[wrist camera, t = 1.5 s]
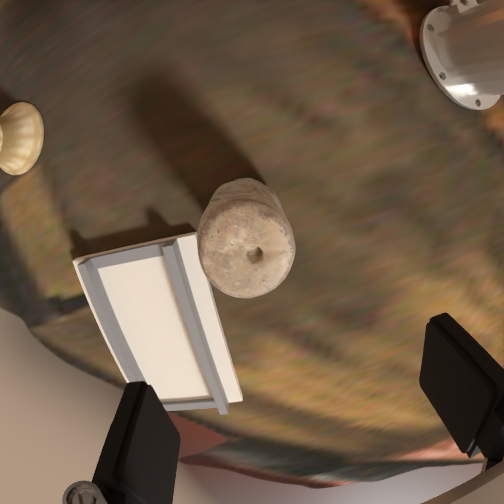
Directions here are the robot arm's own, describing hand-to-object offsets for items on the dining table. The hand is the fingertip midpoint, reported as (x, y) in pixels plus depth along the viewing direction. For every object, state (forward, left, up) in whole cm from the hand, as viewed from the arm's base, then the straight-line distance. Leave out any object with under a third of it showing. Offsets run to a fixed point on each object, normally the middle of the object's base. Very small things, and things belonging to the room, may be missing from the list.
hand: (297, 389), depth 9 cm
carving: (-1, -1, -22) cm, 22 cm away
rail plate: (+11, -13, -22) cm, 28 cm away
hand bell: (-15, -24, -22) cm, 36 cm away
